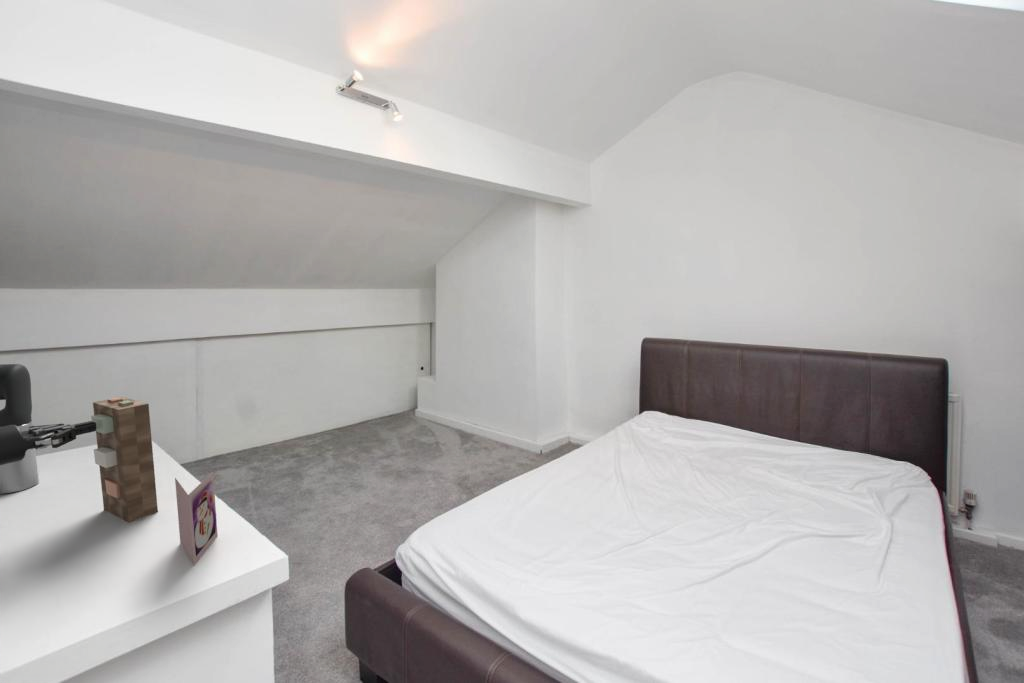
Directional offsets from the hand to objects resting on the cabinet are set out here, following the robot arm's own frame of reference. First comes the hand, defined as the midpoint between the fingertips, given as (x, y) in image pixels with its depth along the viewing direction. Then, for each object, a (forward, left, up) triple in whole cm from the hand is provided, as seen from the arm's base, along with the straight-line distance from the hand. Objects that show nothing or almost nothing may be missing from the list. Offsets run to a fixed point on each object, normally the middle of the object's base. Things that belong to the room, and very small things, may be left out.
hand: (94, 425), depth 111 cm
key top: (-1, +2, -2) cm, 3 cm away
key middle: (-1, +2, -10) cm, 10 cm away
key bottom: (-1, +3, -18) cm, 18 cm away
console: (-2, +5, -23) cm, 24 cm away
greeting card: (+28, +13, -23) cm, 38 cm away
